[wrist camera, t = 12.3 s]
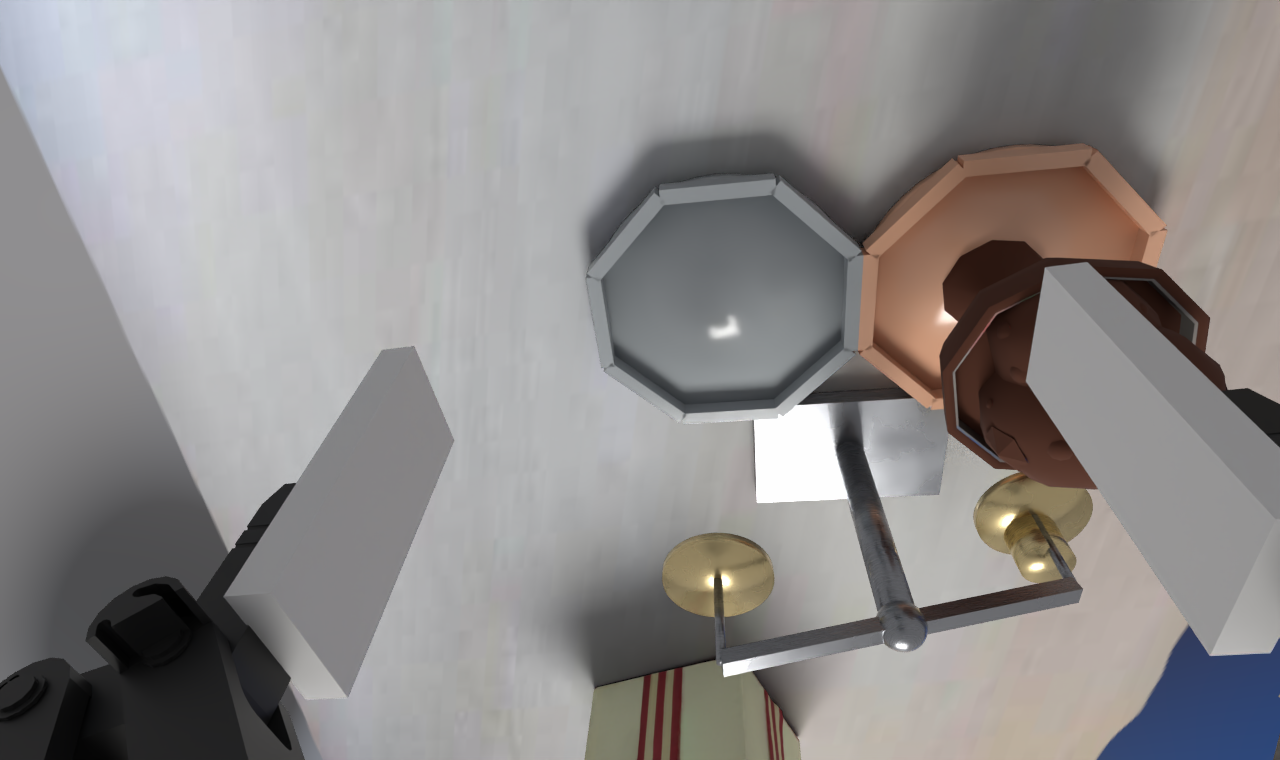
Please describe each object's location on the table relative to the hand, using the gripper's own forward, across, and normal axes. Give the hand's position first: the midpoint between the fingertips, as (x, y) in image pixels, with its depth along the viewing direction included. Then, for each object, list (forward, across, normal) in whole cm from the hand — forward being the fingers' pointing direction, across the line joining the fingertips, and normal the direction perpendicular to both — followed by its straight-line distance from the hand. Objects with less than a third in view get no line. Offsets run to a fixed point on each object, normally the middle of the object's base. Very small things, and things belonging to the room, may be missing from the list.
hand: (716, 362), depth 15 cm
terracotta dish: (+24, +15, -13) cm, 31 cm away
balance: (+24, +7, -23) cm, 34 cm away
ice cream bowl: (+23, +15, -13) cm, 30 cm away
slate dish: (+24, 0, -12) cm, 27 cm away
